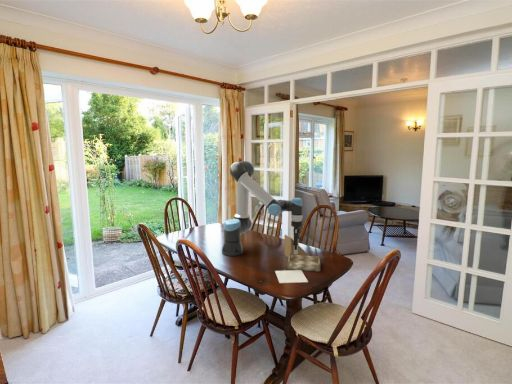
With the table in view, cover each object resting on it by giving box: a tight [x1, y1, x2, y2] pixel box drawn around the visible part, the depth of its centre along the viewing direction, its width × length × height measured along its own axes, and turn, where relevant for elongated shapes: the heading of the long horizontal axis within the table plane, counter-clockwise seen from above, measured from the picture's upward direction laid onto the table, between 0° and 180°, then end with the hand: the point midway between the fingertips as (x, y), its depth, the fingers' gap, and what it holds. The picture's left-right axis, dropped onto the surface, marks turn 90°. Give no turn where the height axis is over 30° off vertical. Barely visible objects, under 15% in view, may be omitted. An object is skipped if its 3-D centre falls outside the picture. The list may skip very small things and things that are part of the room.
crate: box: [286, 254, 321, 272], centre depth 186 cm, size 20×15×5 cm
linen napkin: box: [274, 269, 309, 284], centre depth 170 cm, size 16×16×1 cm
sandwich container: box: [283, 234, 310, 259], centre depth 203 cm, size 9×15×15 cm, turn 115°
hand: (296, 250), depth 203 cm, fingers closed on sandwich container, 12 cm apart
